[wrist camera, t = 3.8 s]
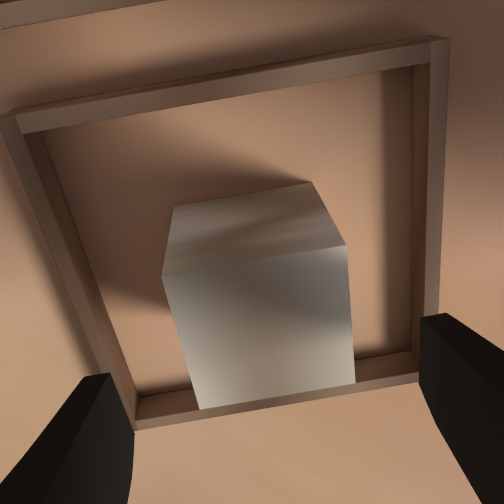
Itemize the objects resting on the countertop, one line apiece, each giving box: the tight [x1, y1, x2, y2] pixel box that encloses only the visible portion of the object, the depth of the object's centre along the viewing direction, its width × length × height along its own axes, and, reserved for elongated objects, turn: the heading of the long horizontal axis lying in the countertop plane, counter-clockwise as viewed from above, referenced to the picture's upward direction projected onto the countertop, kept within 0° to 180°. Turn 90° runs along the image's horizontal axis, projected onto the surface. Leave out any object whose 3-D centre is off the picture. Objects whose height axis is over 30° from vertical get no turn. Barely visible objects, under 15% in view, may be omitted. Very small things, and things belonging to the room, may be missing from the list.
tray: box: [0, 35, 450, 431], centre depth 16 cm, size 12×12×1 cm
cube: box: [161, 182, 356, 410], centre depth 14 cm, size 4×4×4 cm
